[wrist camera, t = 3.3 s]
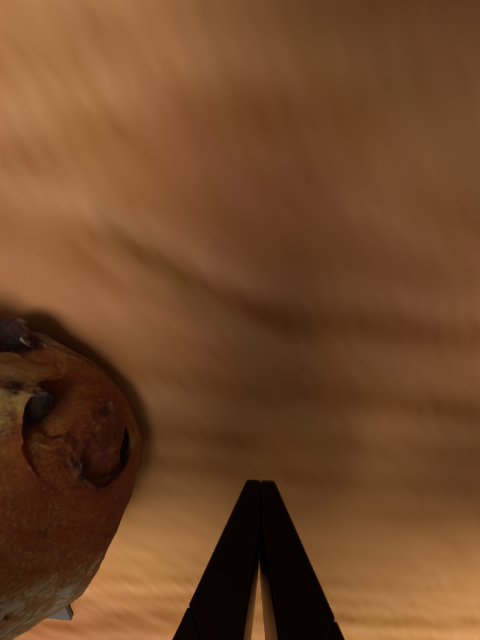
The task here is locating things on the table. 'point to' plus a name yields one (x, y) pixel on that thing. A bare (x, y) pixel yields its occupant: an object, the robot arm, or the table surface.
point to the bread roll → (57, 473)
